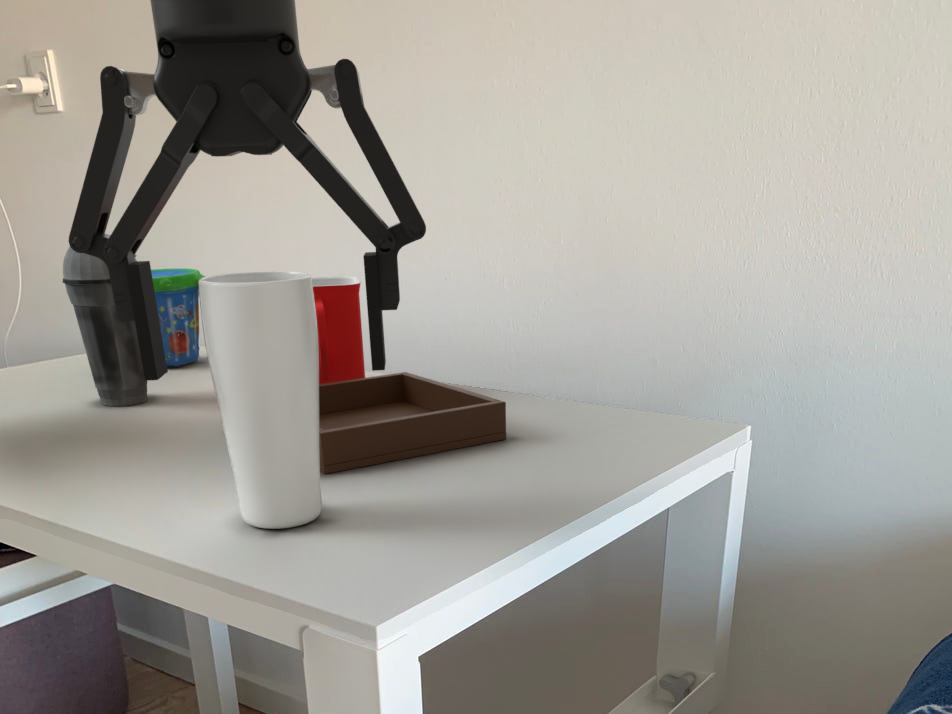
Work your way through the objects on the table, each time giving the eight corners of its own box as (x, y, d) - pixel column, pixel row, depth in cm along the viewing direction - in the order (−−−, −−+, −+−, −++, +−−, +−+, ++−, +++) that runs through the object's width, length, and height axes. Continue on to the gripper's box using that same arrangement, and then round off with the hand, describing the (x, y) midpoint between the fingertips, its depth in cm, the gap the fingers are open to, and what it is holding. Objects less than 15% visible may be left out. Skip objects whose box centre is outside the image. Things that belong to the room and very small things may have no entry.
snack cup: (83, 372, 115) (65, 278, 110) (121, 356, 124) (105, 269, 120) (216, 371, 113) (203, 276, 109) (244, 355, 123) (233, 266, 118)
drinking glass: (354, 511, 67) (335, 272, 60) (288, 542, 62) (259, 285, 55) (277, 497, 70) (251, 269, 63) (207, 525, 65) (171, 280, 58)
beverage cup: (70, 407, 98) (25, 182, 89) (112, 392, 104) (74, 180, 95) (137, 410, 96) (98, 181, 87) (175, 394, 102) (142, 179, 94)
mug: (285, 386, 105) (274, 278, 100) (364, 381, 106) (356, 275, 101) (284, 411, 94) (271, 292, 90) (372, 406, 95) (363, 288, 91)
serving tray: (242, 431, 87) (237, 396, 86) (407, 404, 96) (405, 371, 94) (324, 474, 75) (320, 433, 74) (506, 439, 83) (506, 401, 82)
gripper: (-55, -49, 49) (41, 392, 58) (459, -63, 50) (474, 373, 59) (3, -23, 55) (81, 369, 64) (453, -35, 56) (467, 352, 65)
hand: (268, 372), depth 62 cm, fingers open, 13 cm apart
